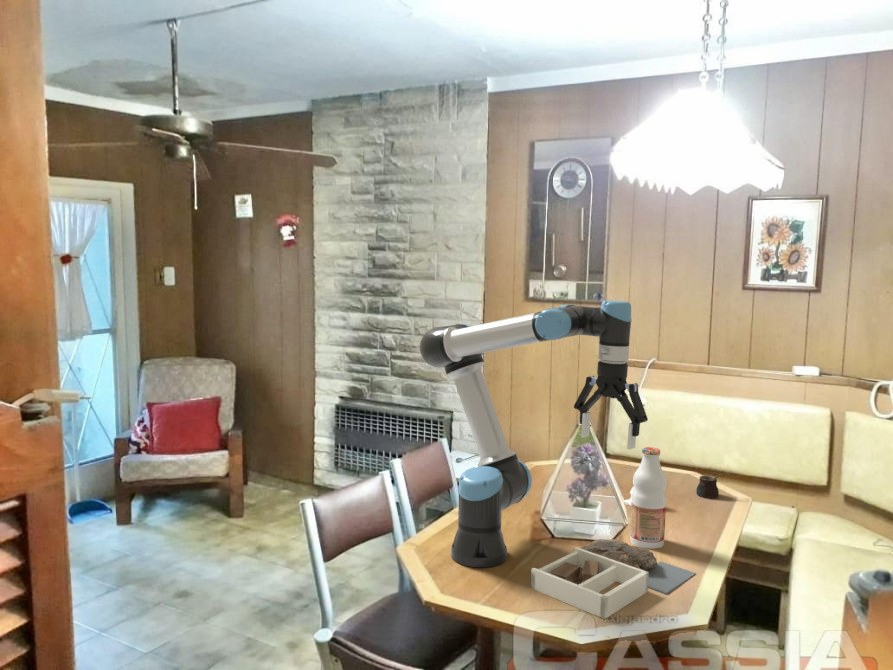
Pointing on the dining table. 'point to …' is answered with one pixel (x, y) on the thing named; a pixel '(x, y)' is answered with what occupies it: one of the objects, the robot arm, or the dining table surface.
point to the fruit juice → (648, 502)
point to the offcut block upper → (590, 570)
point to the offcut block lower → (568, 572)
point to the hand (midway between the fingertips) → (607, 442)
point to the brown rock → (623, 553)
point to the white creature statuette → (631, 497)
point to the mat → (667, 577)
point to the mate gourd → (708, 487)
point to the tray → (592, 584)
